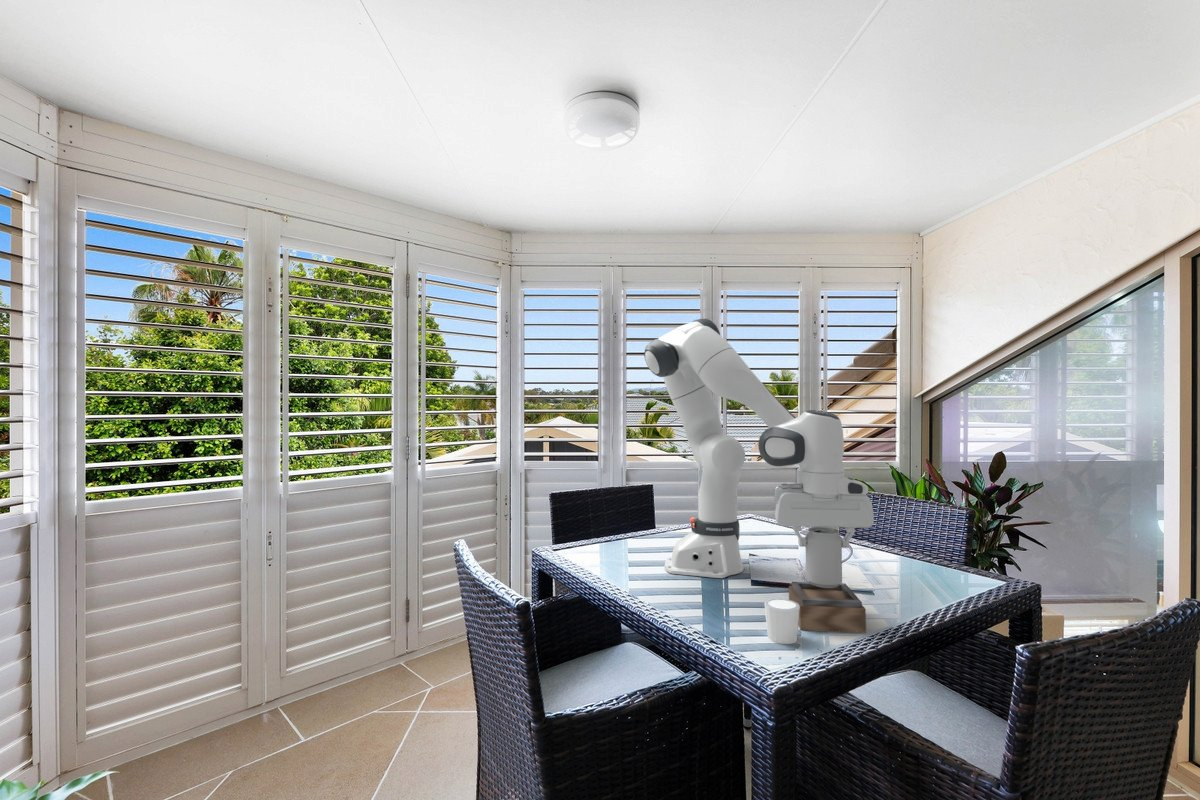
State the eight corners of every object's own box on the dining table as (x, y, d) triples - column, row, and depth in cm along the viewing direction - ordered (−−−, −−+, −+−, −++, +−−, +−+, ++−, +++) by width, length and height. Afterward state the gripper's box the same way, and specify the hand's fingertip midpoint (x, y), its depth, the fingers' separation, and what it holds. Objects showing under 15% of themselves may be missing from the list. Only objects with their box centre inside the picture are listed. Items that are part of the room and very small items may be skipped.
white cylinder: (759, 631, 117) (759, 598, 117) (791, 630, 117) (790, 597, 117) (772, 646, 110) (772, 610, 110) (806, 644, 110) (805, 609, 110)
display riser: (800, 629, 117) (800, 600, 117) (789, 607, 130) (788, 580, 130) (865, 633, 115) (865, 603, 115) (847, 609, 128) (847, 582, 128)
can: (816, 575, 128) (815, 523, 128) (848, 583, 123) (847, 529, 122) (799, 583, 123) (798, 529, 123) (831, 591, 118) (831, 535, 118)
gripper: (776, 485, 121) (777, 549, 121) (876, 486, 118) (876, 551, 118) (771, 481, 128) (772, 541, 128) (866, 482, 124) (867, 544, 124)
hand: (823, 546), depth 123 cm, fingers closed on can, 7 cm apart
